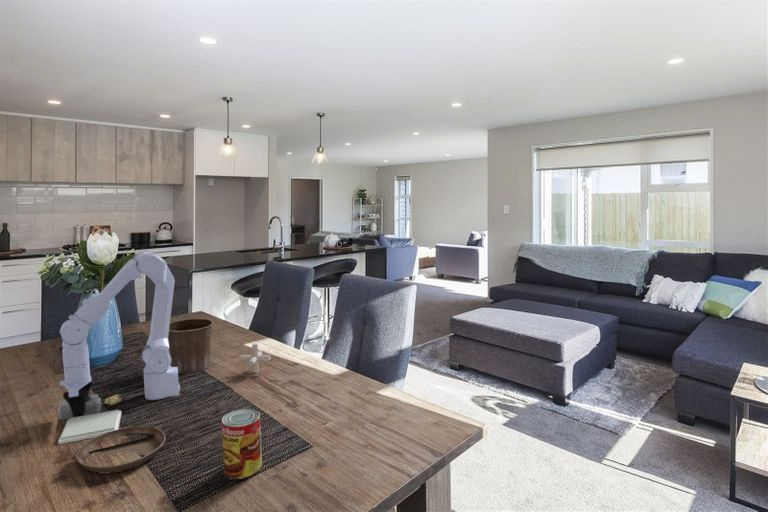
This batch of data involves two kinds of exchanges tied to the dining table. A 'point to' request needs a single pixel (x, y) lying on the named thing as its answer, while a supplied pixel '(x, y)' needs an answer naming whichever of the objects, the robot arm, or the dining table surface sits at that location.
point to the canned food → (241, 443)
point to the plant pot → (190, 344)
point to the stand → (90, 426)
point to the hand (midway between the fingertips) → (80, 412)
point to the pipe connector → (255, 358)
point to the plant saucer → (123, 448)
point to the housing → (90, 407)
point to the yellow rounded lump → (113, 400)
